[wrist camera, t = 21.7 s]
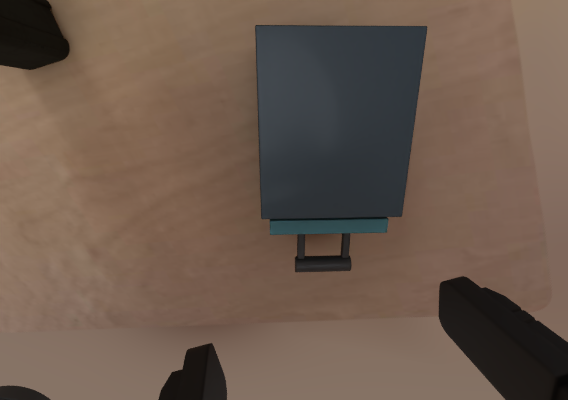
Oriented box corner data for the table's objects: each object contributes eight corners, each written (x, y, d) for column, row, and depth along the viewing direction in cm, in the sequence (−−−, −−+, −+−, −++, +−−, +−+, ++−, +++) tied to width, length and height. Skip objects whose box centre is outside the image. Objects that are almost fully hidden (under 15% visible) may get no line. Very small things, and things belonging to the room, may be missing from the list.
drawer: (358, 246, 30) (381, 282, 24) (271, 247, 30) (271, 286, 23) (371, 85, 25) (406, 77, 19) (268, 85, 25) (266, 77, 18)
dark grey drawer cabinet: (365, 187, 29) (402, 216, 21) (264, 188, 29) (261, 219, 21) (377, 53, 25) (428, 25, 17) (261, 53, 25) (255, 24, 17)
